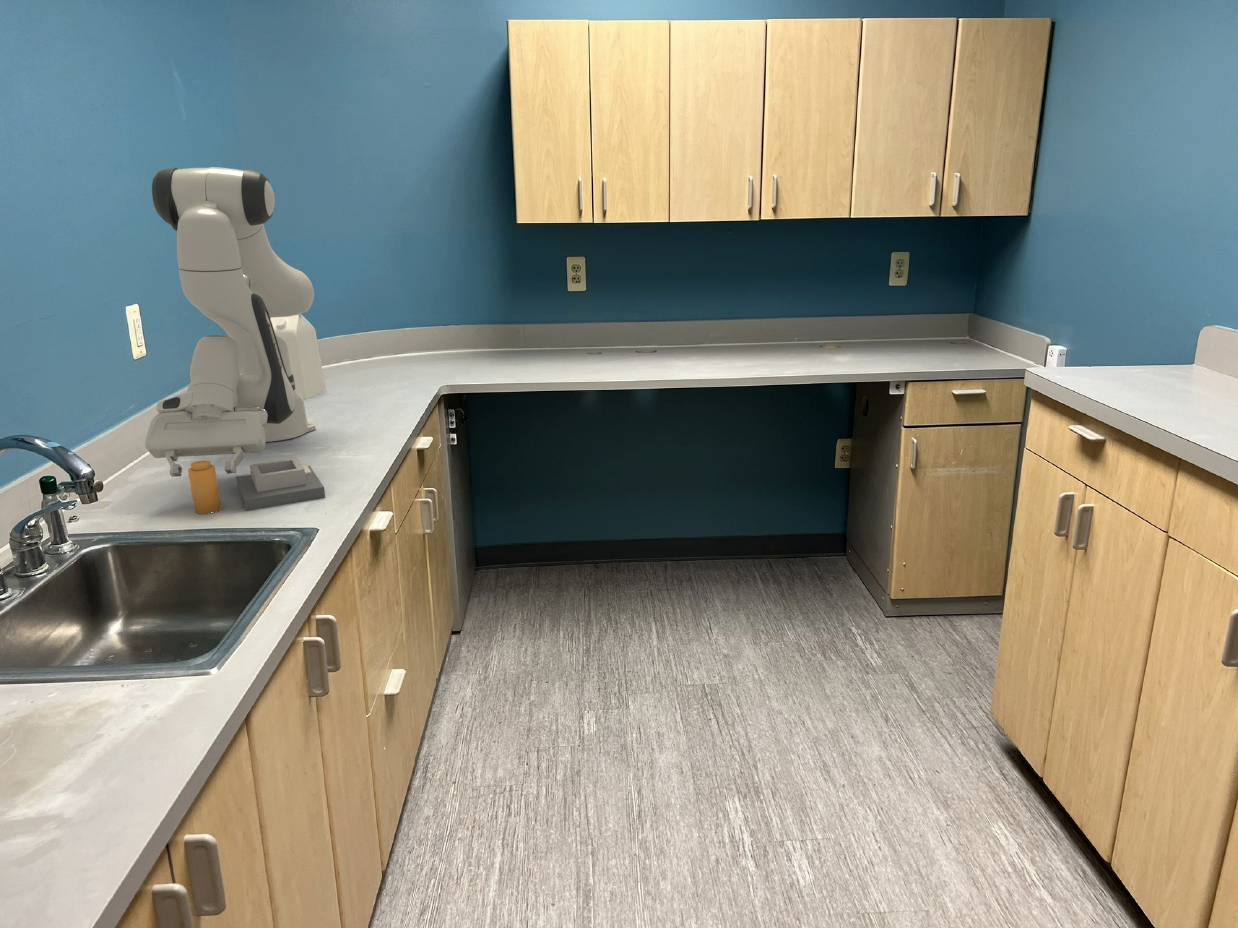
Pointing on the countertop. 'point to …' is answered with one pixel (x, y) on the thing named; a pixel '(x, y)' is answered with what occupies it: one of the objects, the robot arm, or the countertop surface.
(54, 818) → the countertop surface
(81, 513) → the countertop surface
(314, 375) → the milk
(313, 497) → the plate
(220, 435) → the robot arm
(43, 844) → the countertop surface
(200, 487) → the orange bottle
